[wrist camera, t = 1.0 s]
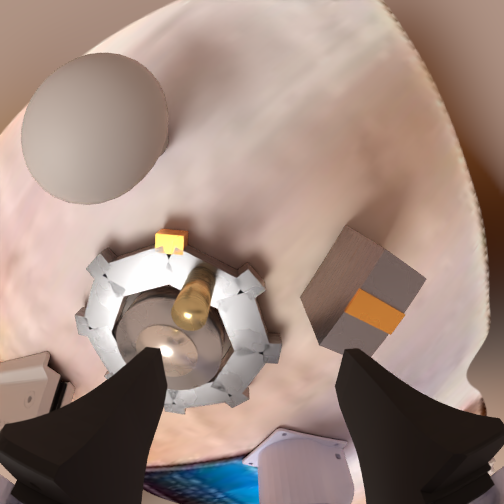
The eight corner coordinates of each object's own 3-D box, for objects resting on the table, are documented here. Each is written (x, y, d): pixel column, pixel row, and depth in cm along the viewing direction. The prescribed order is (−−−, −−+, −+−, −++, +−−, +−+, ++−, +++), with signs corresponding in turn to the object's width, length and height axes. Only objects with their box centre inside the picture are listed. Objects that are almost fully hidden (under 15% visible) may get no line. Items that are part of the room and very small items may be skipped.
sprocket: (315, 296, 20) (339, 342, 14) (221, 421, 23) (218, 469, 18) (118, 194, 17) (72, 206, 12) (73, 351, 21) (44, 389, 15)
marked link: (381, 248, 19) (428, 280, 13) (337, 315, 20) (366, 365, 15) (345, 224, 18) (386, 249, 13) (299, 296, 20) (319, 346, 14)
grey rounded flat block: (49, 350, 21) (26, 439, 13) (79, 375, 24) (65, 458, 16) (-11, 364, 22) (-29, 424, 14) (12, 384, 25) (-2, 442, 17)
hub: (241, 315, 20) (241, 337, 17) (199, 381, 22) (195, 404, 19) (146, 267, 19) (132, 282, 16) (118, 342, 21) (105, 362, 18)
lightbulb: (174, 203, 18) (87, 251, 7) (99, 167, 17) (-22, 180, 6) (216, 117, 16) (175, 48, 6) (136, 86, 15) (38, 23, 5)
